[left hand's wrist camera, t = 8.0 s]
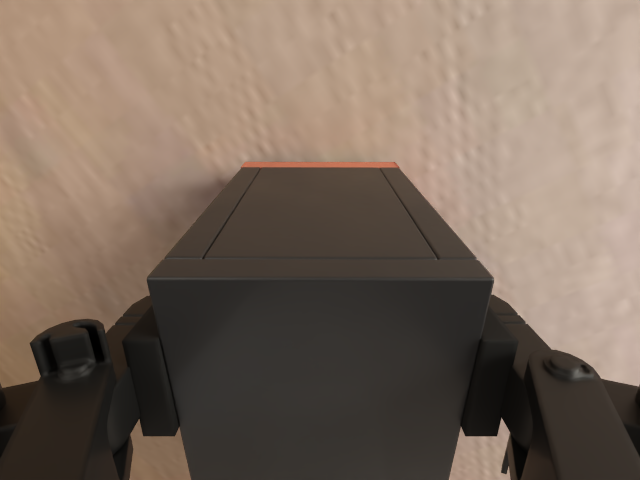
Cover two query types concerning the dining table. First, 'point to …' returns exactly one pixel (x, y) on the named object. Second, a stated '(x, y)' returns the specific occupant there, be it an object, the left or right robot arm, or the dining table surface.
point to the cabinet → (320, 327)
